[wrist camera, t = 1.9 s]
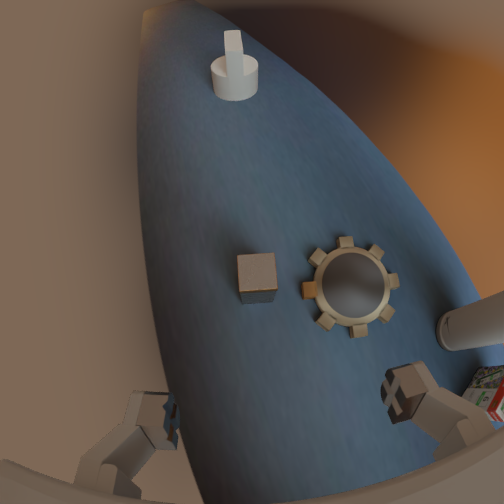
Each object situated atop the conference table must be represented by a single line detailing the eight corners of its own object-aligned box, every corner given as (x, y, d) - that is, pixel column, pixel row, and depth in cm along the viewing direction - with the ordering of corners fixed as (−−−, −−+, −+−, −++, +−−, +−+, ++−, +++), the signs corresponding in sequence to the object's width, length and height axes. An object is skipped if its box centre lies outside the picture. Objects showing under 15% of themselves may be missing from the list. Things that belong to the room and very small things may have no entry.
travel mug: (427, 326, 37) (524, 293, 19) (454, 304, 38) (545, 263, 20) (443, 360, 35) (542, 346, 17) (469, 337, 36) (562, 311, 18)
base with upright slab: (213, 77, 55) (208, 32, 44) (255, 74, 56) (255, 28, 44) (213, 102, 52) (207, 53, 41) (260, 99, 53) (261, 49, 41)
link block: (273, 302, 39) (277, 288, 32) (242, 304, 39) (239, 291, 32) (270, 272, 41) (274, 252, 33) (240, 274, 40) (237, 254, 33)
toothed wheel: (401, 329, 37) (407, 328, 36) (307, 344, 37) (309, 343, 35) (384, 238, 42) (389, 233, 41) (295, 243, 42) (297, 238, 40)
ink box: (453, 406, 33) (518, 412, 19) (478, 365, 35) (542, 357, 21) (464, 417, 32) (527, 425, 18) (488, 377, 34) (550, 372, 20)
